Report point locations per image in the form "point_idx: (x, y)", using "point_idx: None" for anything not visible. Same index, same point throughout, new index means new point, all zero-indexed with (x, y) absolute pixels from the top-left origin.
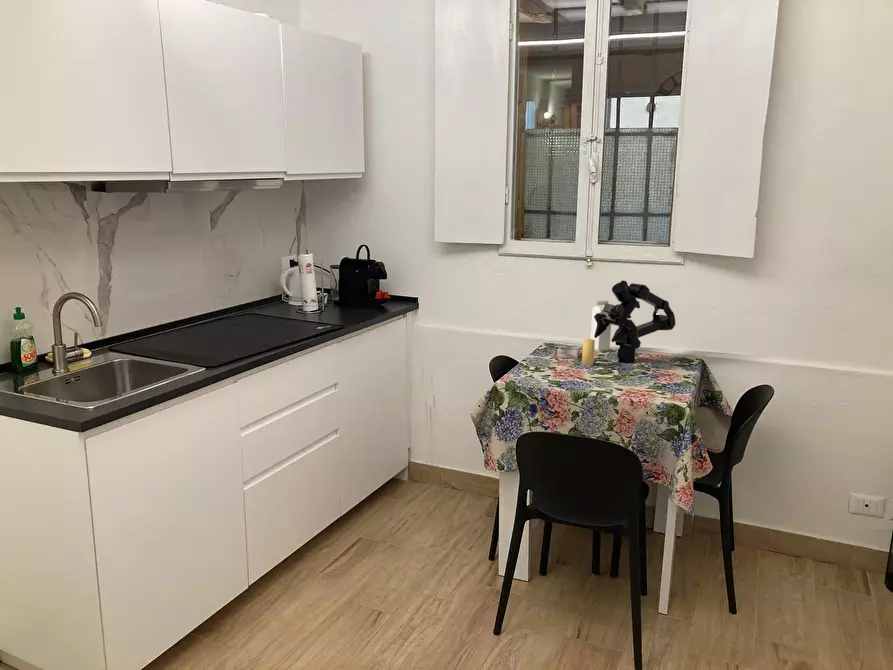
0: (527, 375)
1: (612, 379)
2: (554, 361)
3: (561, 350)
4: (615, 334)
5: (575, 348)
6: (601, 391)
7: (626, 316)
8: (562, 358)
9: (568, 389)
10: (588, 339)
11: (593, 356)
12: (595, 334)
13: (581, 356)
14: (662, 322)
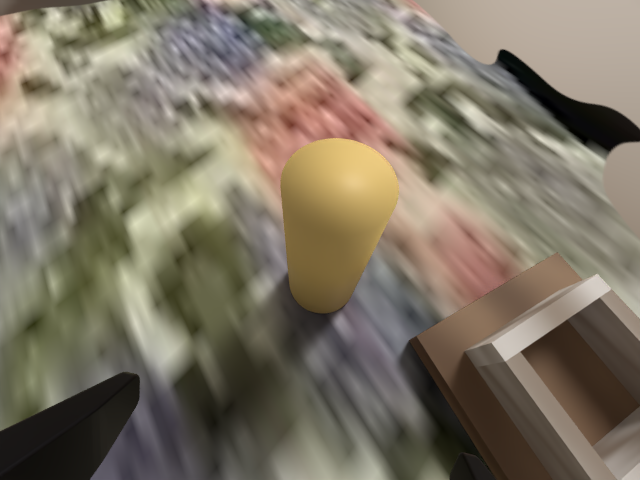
0: (399, 42)
1: (109, 182)
2: None
3: (574, 287)
4: (14, 443)
5: (618, 471)
6: (93, 40)
7: None
8: (511, 281)
9: (199, 7)
10: (370, 211)
11: (287, 258)
12: (480, 478)
13: (500, 443)
14: None
